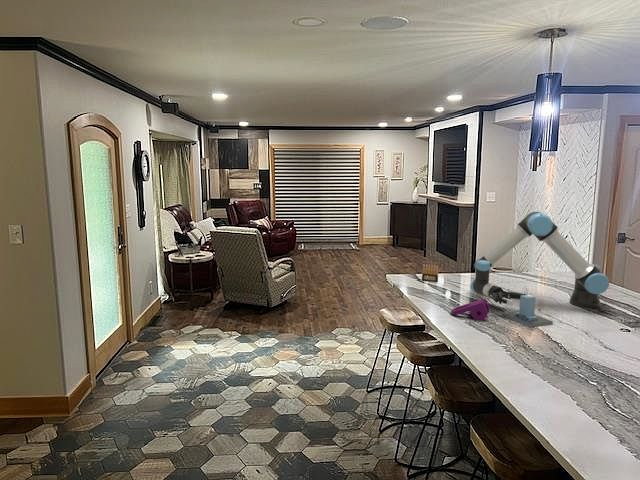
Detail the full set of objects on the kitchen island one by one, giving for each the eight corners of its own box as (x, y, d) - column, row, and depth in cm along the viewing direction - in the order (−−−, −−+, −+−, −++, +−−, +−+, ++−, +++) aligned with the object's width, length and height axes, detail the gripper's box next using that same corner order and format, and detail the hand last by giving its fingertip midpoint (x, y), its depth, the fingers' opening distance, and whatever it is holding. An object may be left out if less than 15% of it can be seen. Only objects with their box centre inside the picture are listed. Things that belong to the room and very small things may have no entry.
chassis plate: (501, 315, 248) (501, 312, 247) (522, 312, 253) (522, 309, 252) (530, 327, 229) (530, 323, 229) (552, 324, 234) (552, 320, 234)
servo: (515, 316, 245) (516, 292, 243) (522, 315, 246) (524, 292, 245) (529, 322, 236) (531, 297, 234) (537, 321, 237) (539, 297, 235)
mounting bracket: (455, 328, 245) (489, 318, 237) (449, 312, 246) (482, 302, 237) (459, 322, 254) (492, 313, 245) (453, 308, 254) (485, 298, 245)
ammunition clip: (438, 281, 320) (438, 264, 318) (437, 282, 318) (438, 264, 316) (422, 280, 324) (422, 263, 322) (421, 280, 322) (422, 263, 320)
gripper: (510, 296, 267) (540, 307, 248) (474, 300, 258) (502, 311, 238) (511, 283, 266) (541, 293, 246) (475, 287, 257) (503, 297, 237)
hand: (522, 302), depth 242 cm, fingers open, 13 cm apart
